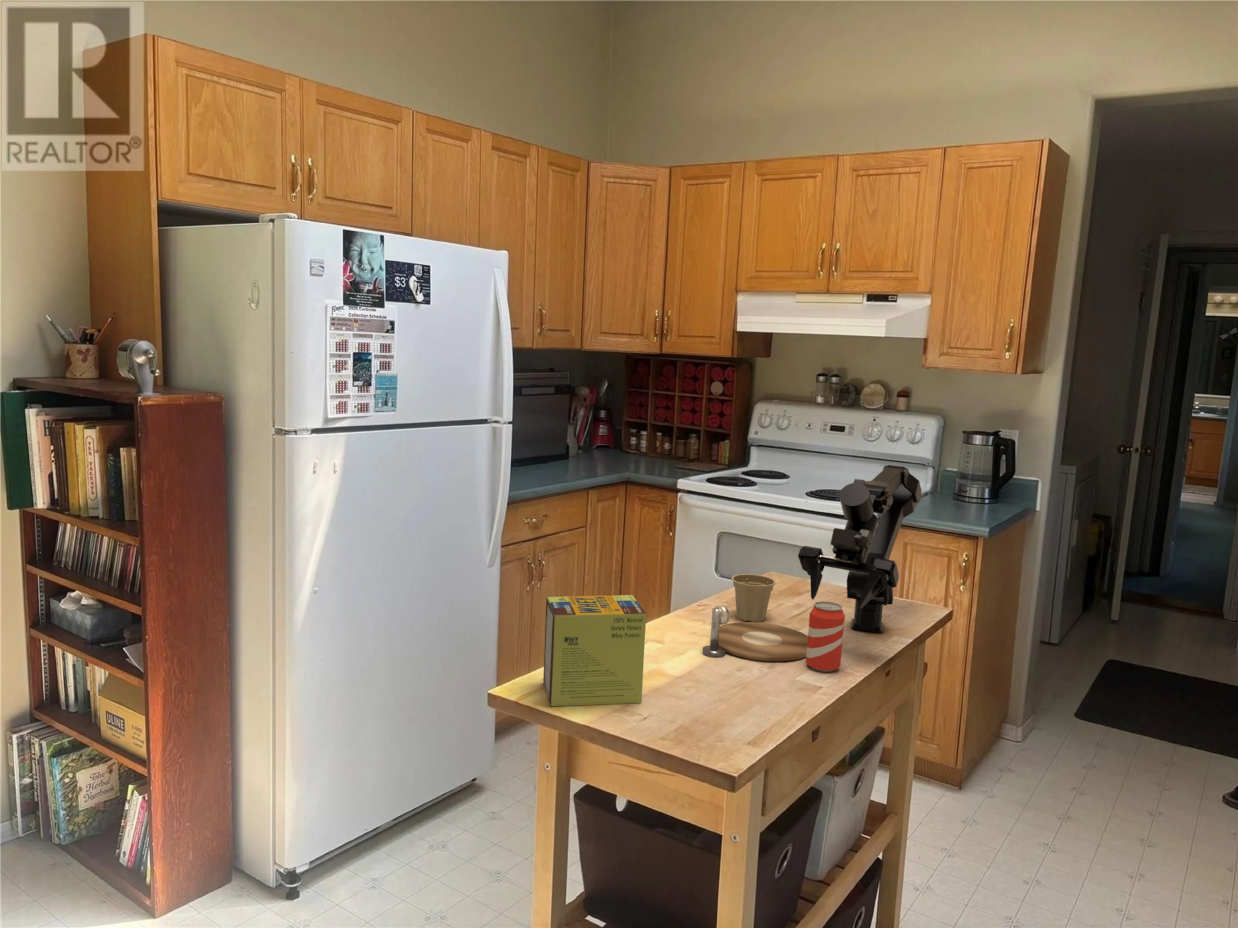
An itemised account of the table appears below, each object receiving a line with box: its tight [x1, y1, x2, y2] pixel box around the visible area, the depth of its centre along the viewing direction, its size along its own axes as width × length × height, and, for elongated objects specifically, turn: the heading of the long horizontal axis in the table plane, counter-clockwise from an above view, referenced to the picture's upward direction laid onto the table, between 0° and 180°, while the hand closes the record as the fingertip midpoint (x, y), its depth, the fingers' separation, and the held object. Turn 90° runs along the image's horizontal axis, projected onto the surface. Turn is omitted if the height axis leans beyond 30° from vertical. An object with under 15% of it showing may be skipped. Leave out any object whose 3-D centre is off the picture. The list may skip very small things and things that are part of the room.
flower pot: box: [731, 573, 777, 623], centre depth 196 cm, size 9×9×9 cm
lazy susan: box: [718, 621, 808, 662], centre depth 180 cm, size 20×20×1 cm
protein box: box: [542, 594, 647, 707], centre depth 151 cm, size 10×15×16 cm
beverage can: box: [805, 600, 846, 673], centre depth 168 cm, size 6×6×12 cm
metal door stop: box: [701, 605, 730, 658], centre depth 173 cm, size 4×4×9 cm
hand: (835, 602), depth 171 cm, fingers open, 9 cm apart
